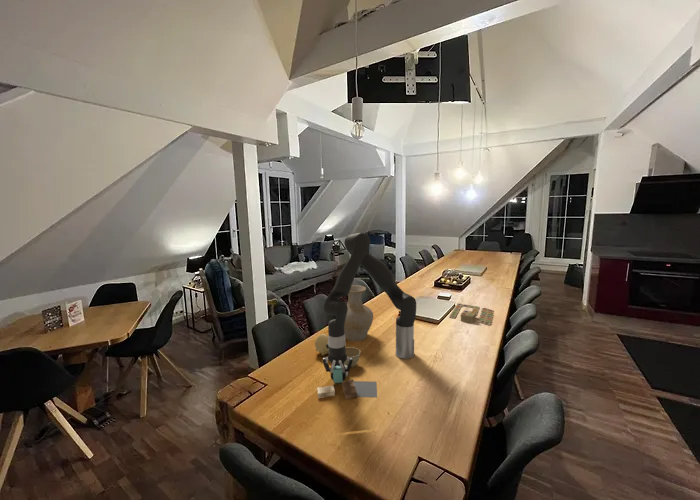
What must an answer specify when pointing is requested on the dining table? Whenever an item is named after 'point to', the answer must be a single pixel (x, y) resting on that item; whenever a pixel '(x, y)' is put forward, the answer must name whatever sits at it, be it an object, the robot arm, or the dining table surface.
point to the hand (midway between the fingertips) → (338, 379)
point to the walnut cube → (349, 389)
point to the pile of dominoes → (473, 314)
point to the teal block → (337, 374)
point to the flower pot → (352, 355)
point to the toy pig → (322, 344)
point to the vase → (357, 315)
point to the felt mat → (366, 388)
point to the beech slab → (325, 391)
